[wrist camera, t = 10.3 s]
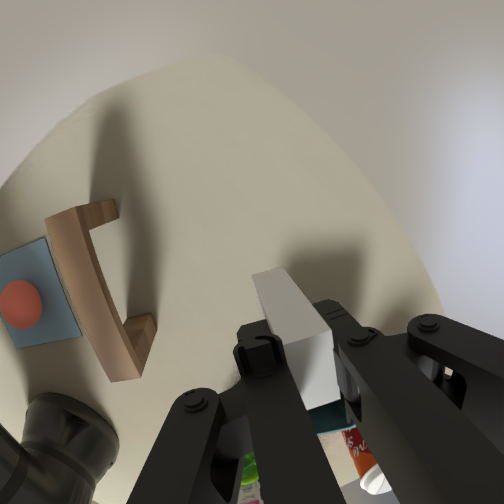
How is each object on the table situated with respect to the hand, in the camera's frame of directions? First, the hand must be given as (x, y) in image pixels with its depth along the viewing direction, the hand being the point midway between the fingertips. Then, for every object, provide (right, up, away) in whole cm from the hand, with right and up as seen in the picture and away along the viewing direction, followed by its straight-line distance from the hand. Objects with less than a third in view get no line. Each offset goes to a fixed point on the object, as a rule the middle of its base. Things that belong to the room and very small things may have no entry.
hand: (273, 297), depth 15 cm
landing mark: (-28, -3, +14) cm, 32 cm away
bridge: (-14, 0, +15) cm, 21 cm away
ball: (-27, -4, +12) cm, 29 cm away
